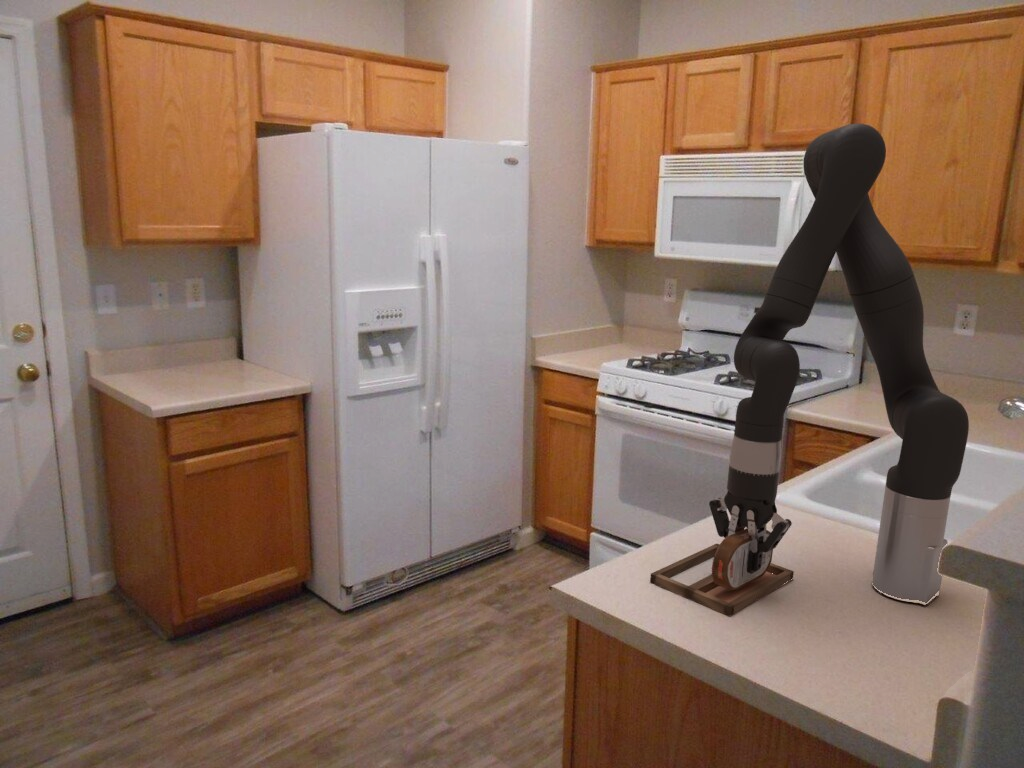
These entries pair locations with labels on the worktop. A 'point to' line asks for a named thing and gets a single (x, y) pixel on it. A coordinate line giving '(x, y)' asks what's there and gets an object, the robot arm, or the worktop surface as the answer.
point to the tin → (737, 561)
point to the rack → (718, 595)
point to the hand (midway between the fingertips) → (743, 567)
